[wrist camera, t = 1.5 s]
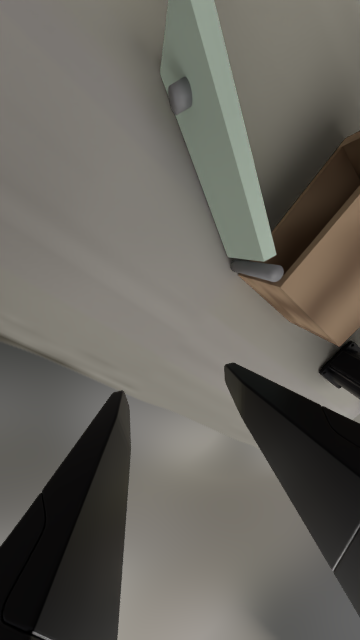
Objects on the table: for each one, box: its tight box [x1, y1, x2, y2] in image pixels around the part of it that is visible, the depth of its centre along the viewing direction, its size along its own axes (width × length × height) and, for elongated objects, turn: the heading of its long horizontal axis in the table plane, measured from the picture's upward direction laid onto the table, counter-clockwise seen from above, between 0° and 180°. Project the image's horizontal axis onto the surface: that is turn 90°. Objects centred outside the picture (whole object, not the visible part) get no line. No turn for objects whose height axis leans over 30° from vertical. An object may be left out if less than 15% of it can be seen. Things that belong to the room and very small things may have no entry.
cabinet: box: [238, 131, 360, 347], centre depth 17 cm, size 10×15×6 cm, turn 143°
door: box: [160, 0, 284, 282], centre depth 13 cm, size 2×15×6 cm, turn 28°
